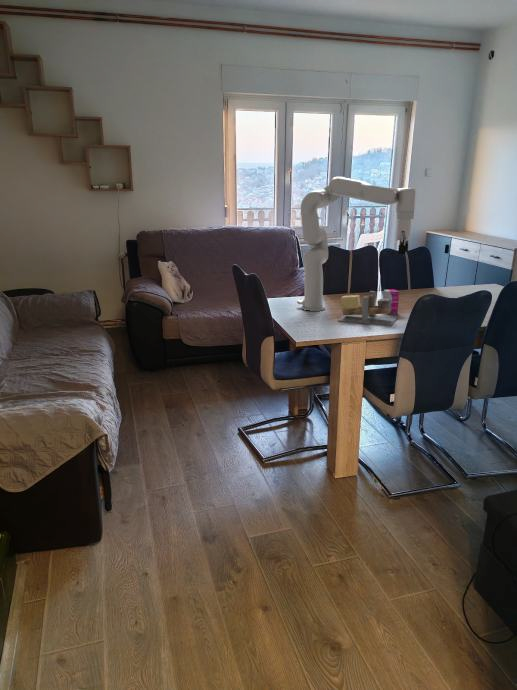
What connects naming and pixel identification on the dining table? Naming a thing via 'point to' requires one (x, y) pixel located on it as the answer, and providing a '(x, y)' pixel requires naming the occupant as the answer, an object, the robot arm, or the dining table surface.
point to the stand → (368, 315)
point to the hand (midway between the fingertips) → (403, 252)
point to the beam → (372, 308)
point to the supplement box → (392, 299)
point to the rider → (351, 302)
